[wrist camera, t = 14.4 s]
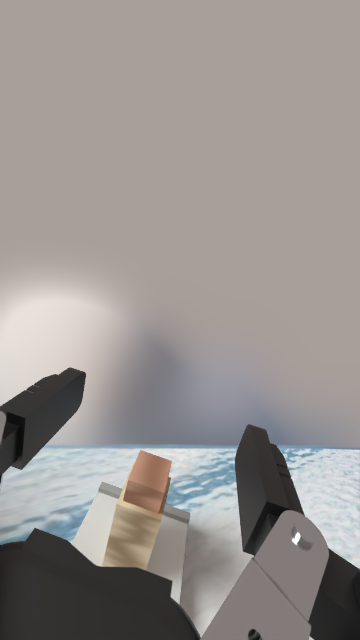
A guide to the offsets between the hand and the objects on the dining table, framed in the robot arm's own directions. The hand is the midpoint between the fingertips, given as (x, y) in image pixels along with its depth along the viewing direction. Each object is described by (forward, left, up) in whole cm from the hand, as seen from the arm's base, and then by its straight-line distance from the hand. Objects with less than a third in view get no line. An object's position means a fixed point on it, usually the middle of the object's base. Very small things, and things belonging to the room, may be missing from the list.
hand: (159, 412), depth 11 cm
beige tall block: (0, +11, -29) cm, 31 cm away
